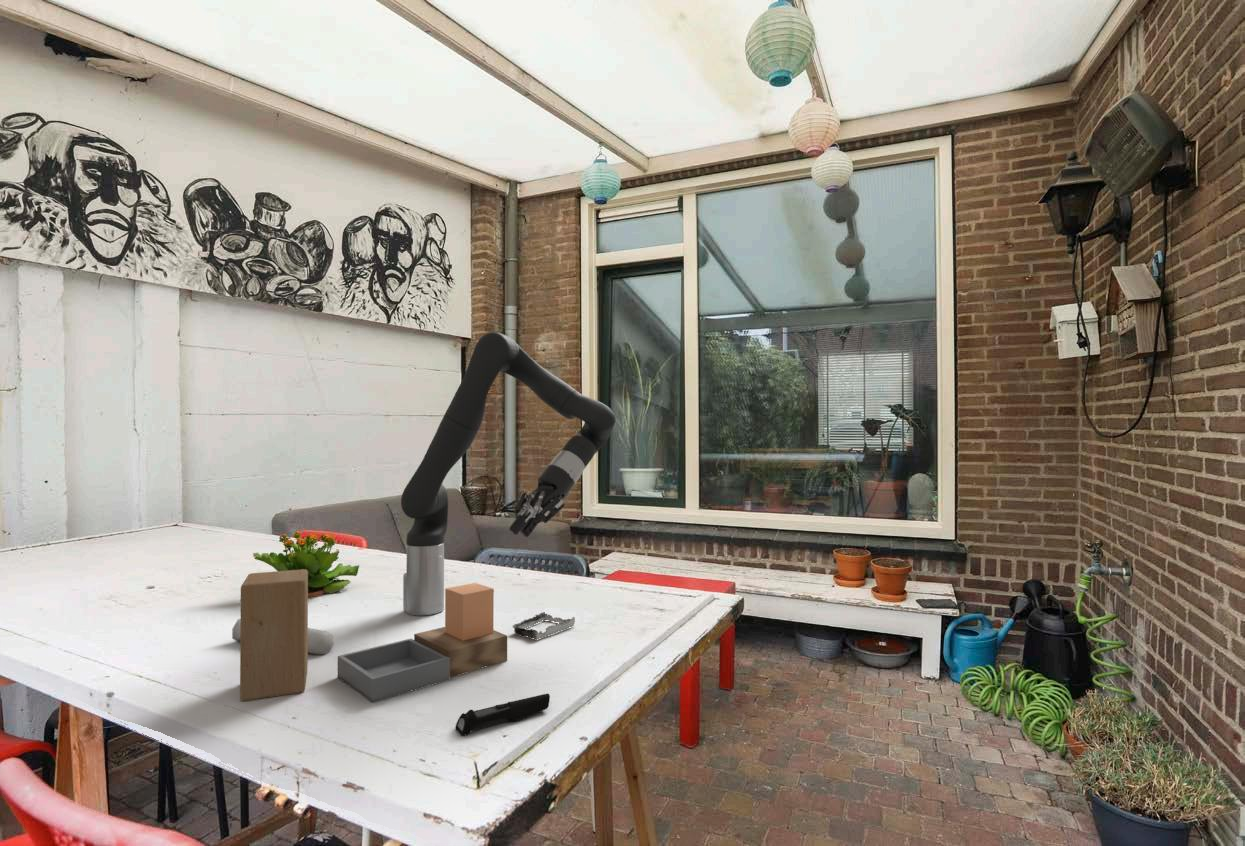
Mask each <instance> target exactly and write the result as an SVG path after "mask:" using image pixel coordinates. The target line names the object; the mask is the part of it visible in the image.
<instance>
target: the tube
mask: <svg viewBox="0 0 1245 846" xmlns="http://www.w3.org/2000/svg"><path fill="white" fill-rule="evenodd" d="M240 623H241V618H238V619H237V620H236V622H235V624H234V626H233V627H232V631H231V632H232V633H231V634H232V635H231V638H232V640H234V641H237V642H240ZM334 646H335V641H334V636H333V634H332V633H330V632H329V631H327V630H323V629H317V628H311V627H310V628H309V627H308V654H312V655H318V656H319V655H324V654H326V653H328V652H330V651H331V650H332V648H333V647H334Z"/></svg>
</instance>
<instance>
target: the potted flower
mask: <svg viewBox="0 0 1245 846" xmlns="http://www.w3.org/2000/svg"><path fill="white" fill-rule="evenodd" d="M300 533H301V532H300V531H299V530H298V531H295V532H294V533H293V535H292V537H293V538H294V539H295V540H293V539H291V536H288V534H287V533H284V534H280V535H279V541H278V542H279V543H283V546H284V549H283V550H282V552H279V553H278V554H277V553H276V552H270V553H268V552H267V553H266V552H262V553H261V554H260V552H253V553H252V556H253V558H254V559H255V560H256V561H259V562H263V563H265V564H266V565H269V566H271V567H272V568H273V569H274V570H276V571H289V570H301V569H306V570H307V571H308V599H309V598H315V597H318V596H319V597H320V596H322V595H323V594H324V593H326V594H331V593H332V594H335V593H336V592H341V590H343V589H345V587H347V586H348V585H349V584H351V582H352V581H351V580H349V579H340V578H339V577H342V576H344V577H345V576H348V577H349V576H351V577H352V576H353V577H356V576H357V575H358V573H359V569H360V565H359V564H358V565H353V566H352V565H351V564H348V565H343V563H342V562H341V563H338V564H337V565H336V567H335V568H333V569H332V570H330V569H331V568H332V567H333V563H334V562H336V561H337V560H338V559H339V554H340V550H339V549H337V550H336V551H334V552H331V550H332V548H333V547H334V546H335V545H336V543H335V541H336V539H335V538H336V537H335V536H336V535H334V534H332V533H330V534H326V533H324V534H320V535H319V536H318V535H317V534H314V533H308V534H306V535H305V536H306V537H305V538H301V537H302V534H300ZM287 536H288V537H287ZM318 538H320V540H321V541H323V545H322V546H321V547H320V546H319V545H318ZM317 546H319V547H317ZM316 547H317V548H316ZM291 548H292V549H291ZM325 550H326V551H325ZM288 552H289V553H288ZM284 553H285V554H284Z"/></svg>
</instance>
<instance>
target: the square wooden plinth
mask: <svg viewBox="0 0 1245 846" xmlns="http://www.w3.org/2000/svg"><path fill="white" fill-rule="evenodd" d="M413 636H414V637H413V640H415V641H417V642H419V643H421V644H423V645H425V646H427V647H429V648H431V649H433V650H435V651H437V652H439V653H441V654H443V655H445V656H447V657H449V658H450V678H454V677H457V676H460V675H464V674H467V673H470V672H473V670H474V671H477V670H480V669H483V668H482V667H484V668H486V667H485V666H487V667H490V666H489V665H491V666H494V665H497V664H500V663H499V662H501V663H503V662H502V661H504V662H507V661H508V635H506V634H504V633H502V632H500V631H497V630H494V629H493V633H491V634H487V635H483V636H479V637H475V638H471V639H467V640H464V641H463V640H461V639H458V638H456V637H454V636H452V635H450V634H447V633H445V626H443V627H438V628H434V629H430V630H427V631H422V632H421V631H420V632H417V633H414V634H413ZM506 660H507V661H506ZM496 663H497V664H496ZM493 664H494V665H493ZM479 668H480V669H479ZM476 669H477V670H476ZM466 672H467V673H466ZM463 673H464V674H463ZM453 676H454V677H453Z"/></svg>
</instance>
